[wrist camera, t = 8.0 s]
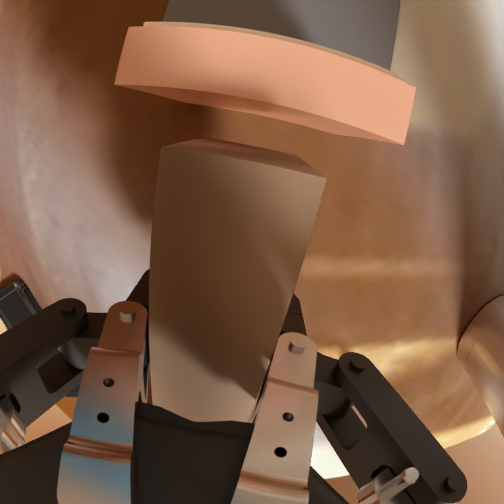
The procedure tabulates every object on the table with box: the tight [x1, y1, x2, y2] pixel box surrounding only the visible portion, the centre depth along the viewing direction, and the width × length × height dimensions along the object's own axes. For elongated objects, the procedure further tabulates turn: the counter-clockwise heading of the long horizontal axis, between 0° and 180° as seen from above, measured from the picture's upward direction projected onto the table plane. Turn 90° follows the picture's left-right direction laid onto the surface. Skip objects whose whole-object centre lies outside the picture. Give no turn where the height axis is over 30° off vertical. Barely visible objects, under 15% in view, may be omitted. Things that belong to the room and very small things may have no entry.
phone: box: [0, 280, 81, 397], centre depth 24 cm, size 8×1×15 cm
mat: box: [162, 0, 400, 71], centre depth 12 cm, size 14×8×1 cm, turn 78°
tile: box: [114, 22, 416, 145], centre depth 11 cm, size 9×2×9 cm, turn 78°
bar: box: [149, 137, 326, 422], centre depth 10 cm, size 4×12×5 cm, turn 169°
